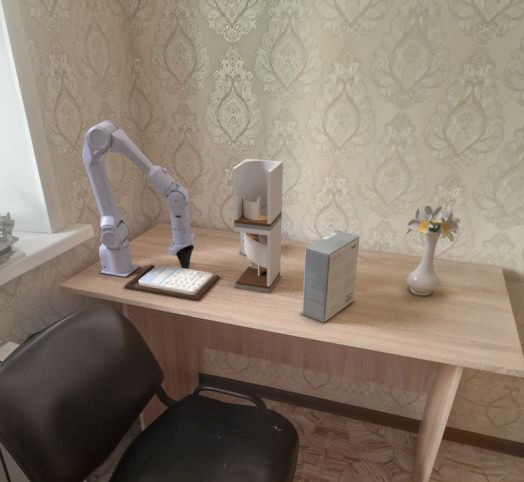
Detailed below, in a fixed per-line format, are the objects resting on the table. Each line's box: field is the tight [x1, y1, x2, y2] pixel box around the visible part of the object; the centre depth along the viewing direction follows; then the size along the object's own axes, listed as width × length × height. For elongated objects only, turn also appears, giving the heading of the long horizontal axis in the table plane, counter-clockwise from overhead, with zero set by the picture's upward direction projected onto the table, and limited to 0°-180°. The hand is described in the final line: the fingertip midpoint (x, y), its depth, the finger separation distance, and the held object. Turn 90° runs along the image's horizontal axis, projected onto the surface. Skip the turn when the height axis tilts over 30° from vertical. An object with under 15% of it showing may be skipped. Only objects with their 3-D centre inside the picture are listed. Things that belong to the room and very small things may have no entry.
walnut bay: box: [123, 264, 221, 302], centre depth 144 cm, size 25×16×1 cm, turn 71°
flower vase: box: [406, 205, 461, 297], centre depth 133 cm, size 13×18×25 cm
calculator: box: [138, 264, 214, 296], centre depth 144 cm, size 13×20×2 cm, turn 70°
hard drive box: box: [302, 229, 360, 323], centre depth 126 cm, size 16×8×20 cm, turn 141°
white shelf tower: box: [231, 158, 284, 293], centre depth 135 cm, size 11×11×35 cm
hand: (185, 267), depth 150 cm, fingers closed
